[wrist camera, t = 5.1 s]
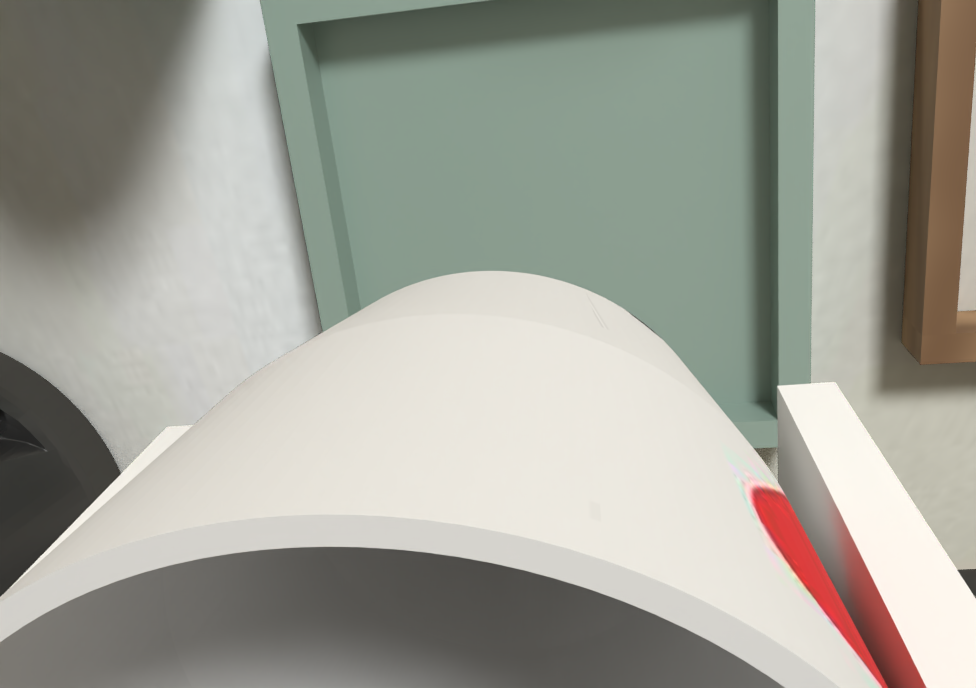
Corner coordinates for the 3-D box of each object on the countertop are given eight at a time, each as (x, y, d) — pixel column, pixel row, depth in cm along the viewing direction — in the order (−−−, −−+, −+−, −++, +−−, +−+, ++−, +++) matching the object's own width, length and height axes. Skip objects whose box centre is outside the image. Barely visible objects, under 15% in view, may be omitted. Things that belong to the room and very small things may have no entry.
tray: (365, 434, 35) (348, 465, 32) (286, -7, 29) (258, -8, 27) (795, 413, 32) (809, 446, 30) (798, -74, 27) (815, -81, 24)
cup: (704, 625, 17) (855, 1392, 8) (285, 575, 17) (-55, 1236, 8) (787, 202, 14) (1202, 611, 5) (278, 157, 14) (-269, 442, 5)
